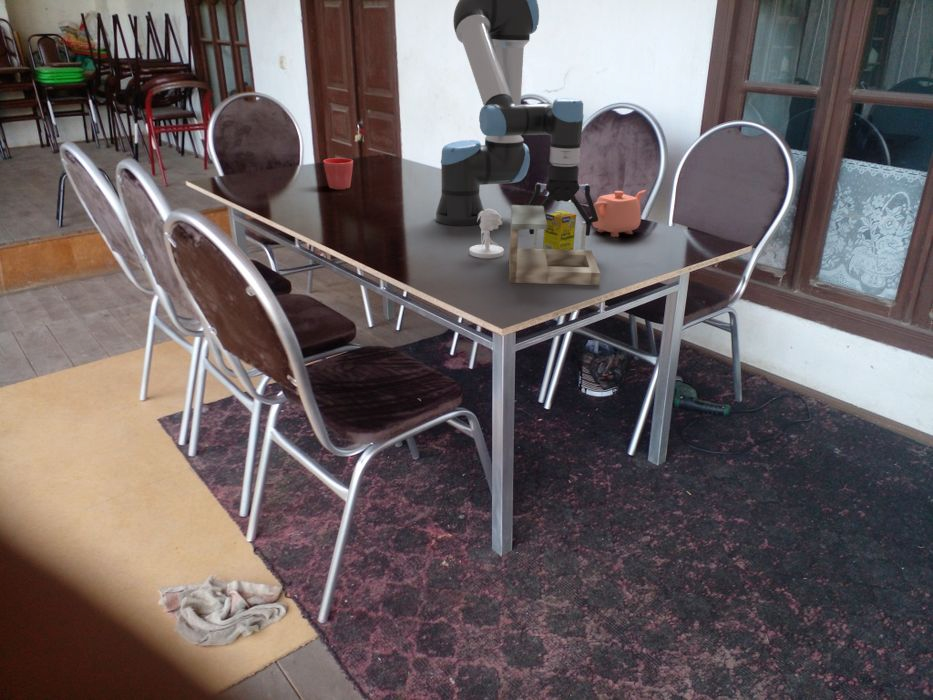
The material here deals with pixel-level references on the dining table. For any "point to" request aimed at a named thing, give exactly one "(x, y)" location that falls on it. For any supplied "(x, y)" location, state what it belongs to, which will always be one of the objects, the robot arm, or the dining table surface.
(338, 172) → the flower pot
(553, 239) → the supplement box
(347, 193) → the dining table surface
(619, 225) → the teapot
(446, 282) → the dining table surface
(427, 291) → the dining table surface
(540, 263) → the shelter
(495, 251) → the figurine
